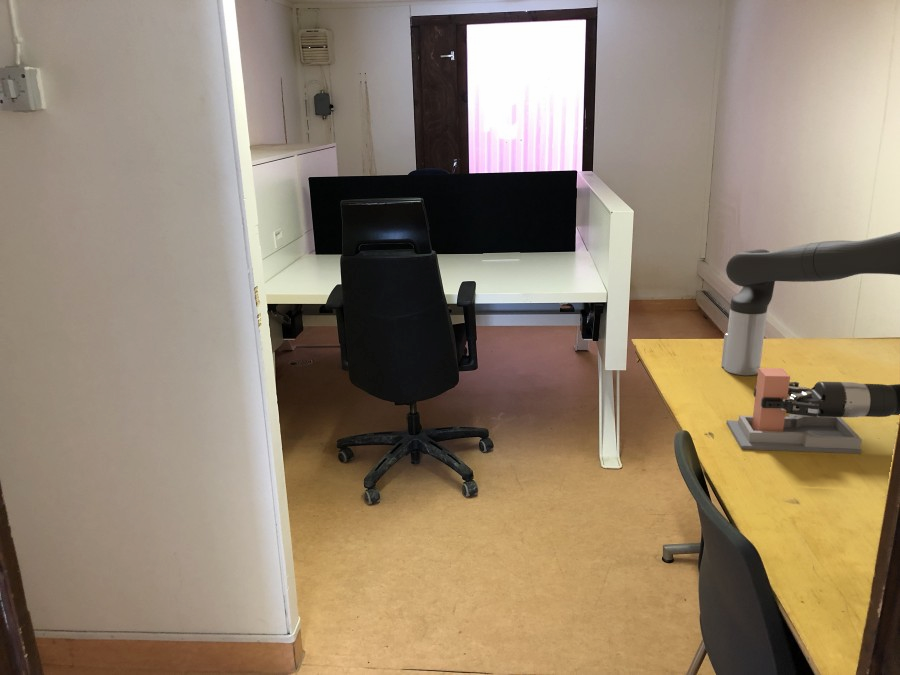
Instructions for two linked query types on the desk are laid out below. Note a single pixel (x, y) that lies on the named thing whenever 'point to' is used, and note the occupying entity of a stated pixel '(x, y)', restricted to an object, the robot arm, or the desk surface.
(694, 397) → the desk surface
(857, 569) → the desk surface
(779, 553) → the desk surface
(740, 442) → the keyhole board
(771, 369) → the block
